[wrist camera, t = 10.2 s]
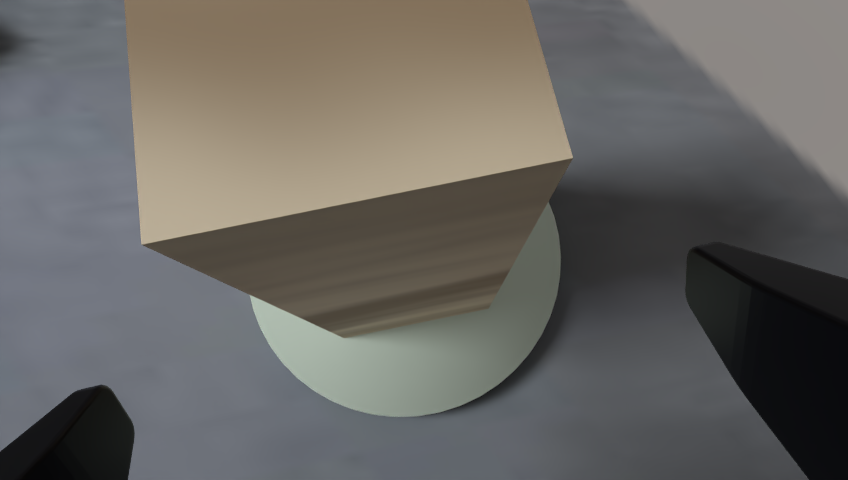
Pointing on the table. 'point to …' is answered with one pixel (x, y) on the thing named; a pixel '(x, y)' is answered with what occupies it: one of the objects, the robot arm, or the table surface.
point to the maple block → (344, 150)
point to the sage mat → (427, 343)
